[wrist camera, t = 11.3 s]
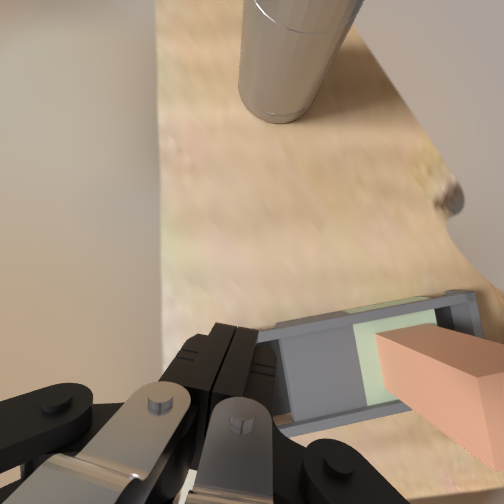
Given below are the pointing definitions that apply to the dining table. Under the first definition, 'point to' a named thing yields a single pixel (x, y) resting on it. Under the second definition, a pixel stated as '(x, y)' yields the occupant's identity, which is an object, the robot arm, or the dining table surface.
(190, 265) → the dining table surface
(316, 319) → the box
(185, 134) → the dining table surface
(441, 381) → the terracotta block
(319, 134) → the dining table surface
